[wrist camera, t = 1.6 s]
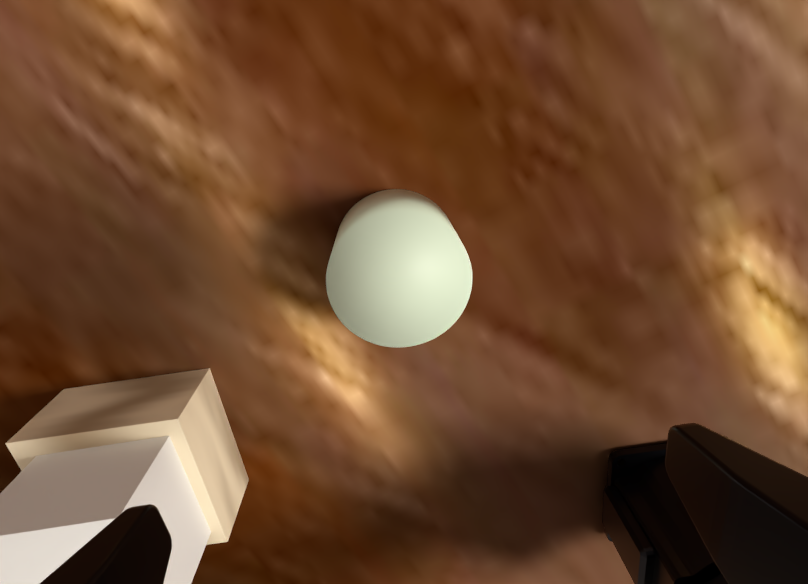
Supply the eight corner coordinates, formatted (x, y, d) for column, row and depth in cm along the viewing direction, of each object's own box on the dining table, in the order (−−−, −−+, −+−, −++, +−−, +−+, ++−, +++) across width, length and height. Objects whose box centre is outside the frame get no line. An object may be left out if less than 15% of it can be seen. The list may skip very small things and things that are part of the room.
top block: (169, 435, 19) (118, 517, 15) (211, 531, 21) (175, 624, 17) (36, 455, 19) (-48, 543, 15) (91, 549, 21) (30, 646, 17)
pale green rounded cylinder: (449, 180, 19) (466, 200, 15) (460, 295, 21) (477, 337, 17) (324, 198, 19) (312, 222, 15) (347, 311, 21) (340, 356, 17)
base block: (211, 365, 22) (178, 418, 18) (250, 475, 25) (227, 541, 21) (67, 385, 22) (5, 443, 18) (121, 493, 25) (76, 563, 21)
